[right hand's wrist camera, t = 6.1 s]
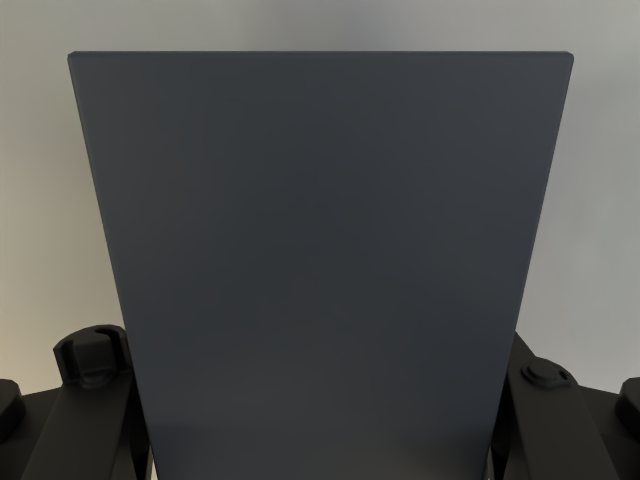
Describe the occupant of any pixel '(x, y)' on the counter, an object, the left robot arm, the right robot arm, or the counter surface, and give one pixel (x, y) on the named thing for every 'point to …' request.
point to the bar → (320, 249)
